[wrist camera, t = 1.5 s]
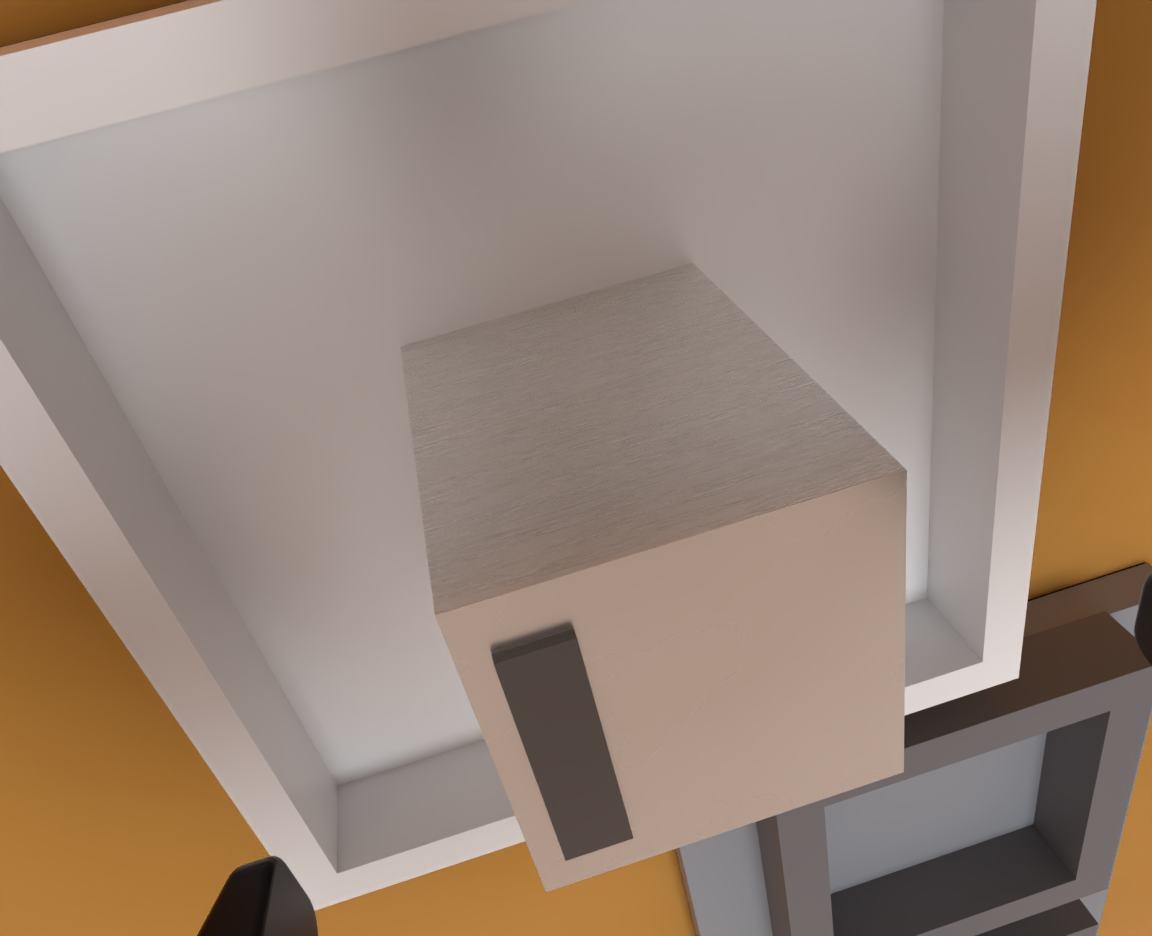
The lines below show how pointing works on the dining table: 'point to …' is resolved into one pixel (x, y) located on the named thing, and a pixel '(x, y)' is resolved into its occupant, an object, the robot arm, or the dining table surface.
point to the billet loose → (658, 569)
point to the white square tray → (483, 293)
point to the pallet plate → (964, 803)
